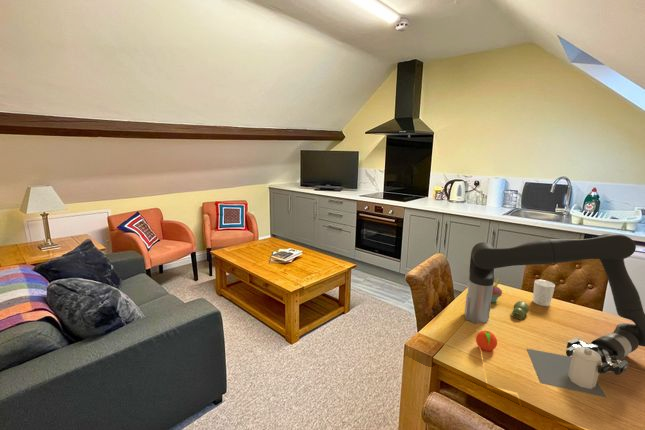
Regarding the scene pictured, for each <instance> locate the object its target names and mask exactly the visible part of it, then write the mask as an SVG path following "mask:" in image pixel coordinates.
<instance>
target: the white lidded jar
mask: <svg viewBox="0 0 645 430" xmlns="http://www.w3.org/2000/svg"><path fill="white" fill-rule="evenodd" d="M571 357H572V359H571V364H570V368H569V373H568V376H569V378H570V380H571V381H572V382H573V383H575V384H577V385H578V386H580V387H584V388H589V389H592V388H593V387H595V386H596V383H597V382H598V378H599V374H600V373H598V368H599V366H601V365H602V363H601V362H602V360H601V356H600V355H599V354H598V353H597V352H595V351H594V350H592V349H589V348H586V347H576V348H575V350H573V354H572V356H571Z"/></svg>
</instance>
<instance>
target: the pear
mask: <svg viewBox="0 0 645 430" xmlns="http://www.w3.org/2000/svg"><path fill="white" fill-rule="evenodd" d="M512 308H513V309H512V312H511V316H512V318H515V319H518V320H523V319H524V318H525V316H526V314H528V312H529V311H530V310H529V309H530V307H529V304H528V303H527V302H525V301H523V300H522V301H521V300H519V301H517V302H515V303H514V305H513V307H512Z"/></svg>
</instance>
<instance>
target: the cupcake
mask: <svg viewBox="0 0 645 430" xmlns="http://www.w3.org/2000/svg"><path fill="white" fill-rule="evenodd" d="M499 280H500V277H497V278H496V282H495V283H494V284H493V291H492V299H491V303H495V302H497V301H498V299H499V298H500V297H501V296H502V294H503V291H502V289H501V288H500V287H498V286H497V285H498V284H499V283H498V281H499Z"/></svg>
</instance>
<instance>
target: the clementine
mask: <svg viewBox="0 0 645 430" xmlns="http://www.w3.org/2000/svg"><path fill="white" fill-rule="evenodd" d="M475 342H476V345H477V347H478V348H480V349H481V350H483V351H486V352H490V351H493V350H495V349H496V348H497V345H498V340H497V337H496V336H495V334H494V333H493V332H490V330H489V331H488V330H481V331H478V333H477V334H476V337H475Z"/></svg>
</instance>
